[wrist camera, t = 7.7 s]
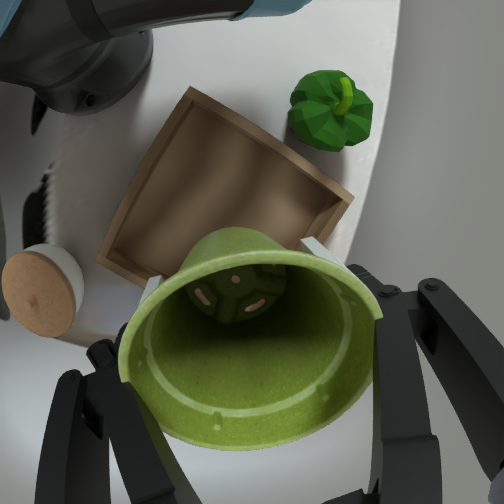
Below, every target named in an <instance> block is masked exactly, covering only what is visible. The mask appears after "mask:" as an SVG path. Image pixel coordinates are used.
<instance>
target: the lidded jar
mask: <svg viewBox="0 0 504 504" xmlns="http://www.w3.org/2000/svg"><path fill="white" fill-rule="evenodd" d="M2 289H3V294H4V298H5V300H6V303H7V305H8V307H9V309H10V311H11V312H12V314H13V315H14V316H15V318H16V319H17V320H18V321H19V322H20V323H21V324H22V325H23V326H24V327H25V328H27V329H28V330H30V331H31V332H33V333H35V334H37V335H39V336H43V337H58V336H61V335H63V334H64V333H66V332H67V331H68V329H69V328H70V327H71V325H72V323H73V321H74V319H75V317H76V315H77V313H78V311H79V309H80V307H81V304H82V300H83V296H84V279H83V275H82V272H81V269H80V267H79V265H78V263H77V262H76V260H75V259H74V257H73V256H72V255H71V254H70V253H69V252H67V251H66V250H65V249H63V248H61V247H59V246H57V245H53V244H45V243H43V244H37V245H34V246H31V247H29V248H26V249H25V250H23V251H21V252H19V253H17V254H15V255H14V256H13V257H11V258H10V259H9V260H8V261H7V263H6V264H5V266H4V269H3V273H2Z"/></svg>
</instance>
